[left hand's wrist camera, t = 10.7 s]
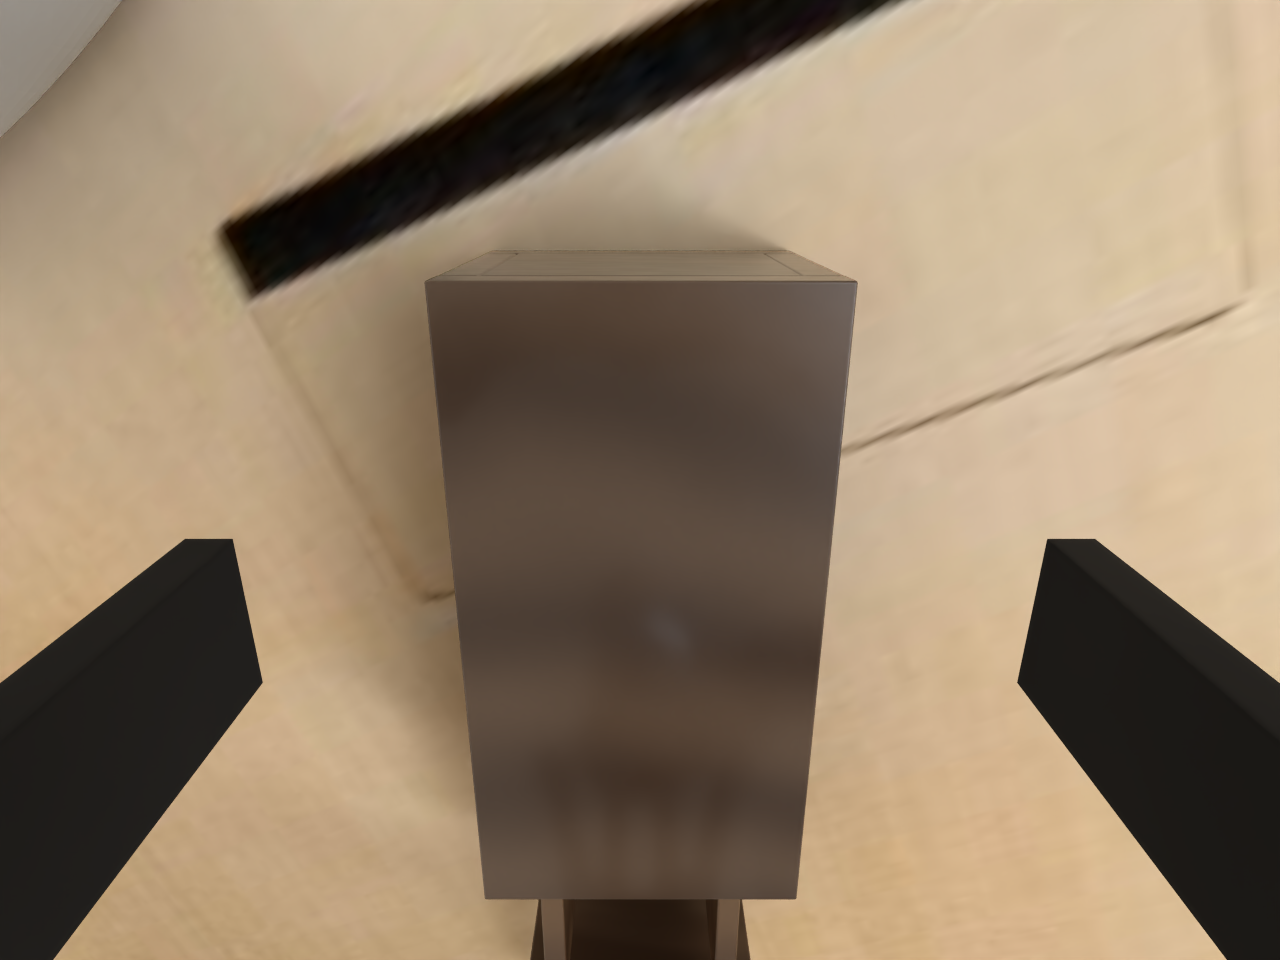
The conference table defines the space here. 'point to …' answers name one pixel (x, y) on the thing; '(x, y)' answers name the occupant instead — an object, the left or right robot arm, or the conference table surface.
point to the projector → (41, 47)
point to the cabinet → (640, 559)
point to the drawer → (640, 929)
